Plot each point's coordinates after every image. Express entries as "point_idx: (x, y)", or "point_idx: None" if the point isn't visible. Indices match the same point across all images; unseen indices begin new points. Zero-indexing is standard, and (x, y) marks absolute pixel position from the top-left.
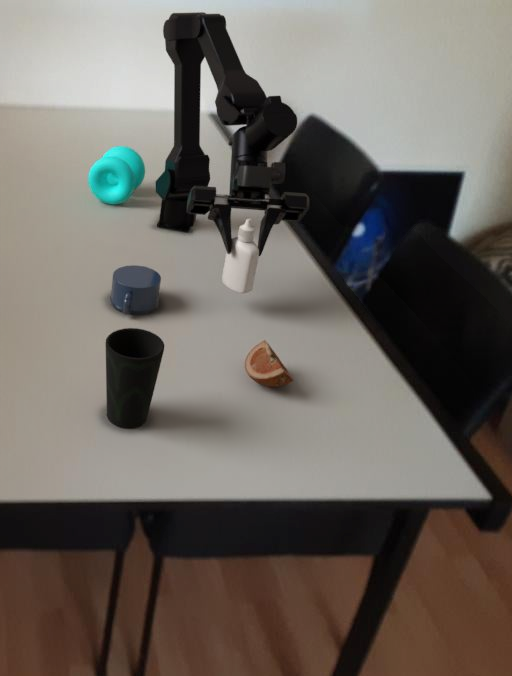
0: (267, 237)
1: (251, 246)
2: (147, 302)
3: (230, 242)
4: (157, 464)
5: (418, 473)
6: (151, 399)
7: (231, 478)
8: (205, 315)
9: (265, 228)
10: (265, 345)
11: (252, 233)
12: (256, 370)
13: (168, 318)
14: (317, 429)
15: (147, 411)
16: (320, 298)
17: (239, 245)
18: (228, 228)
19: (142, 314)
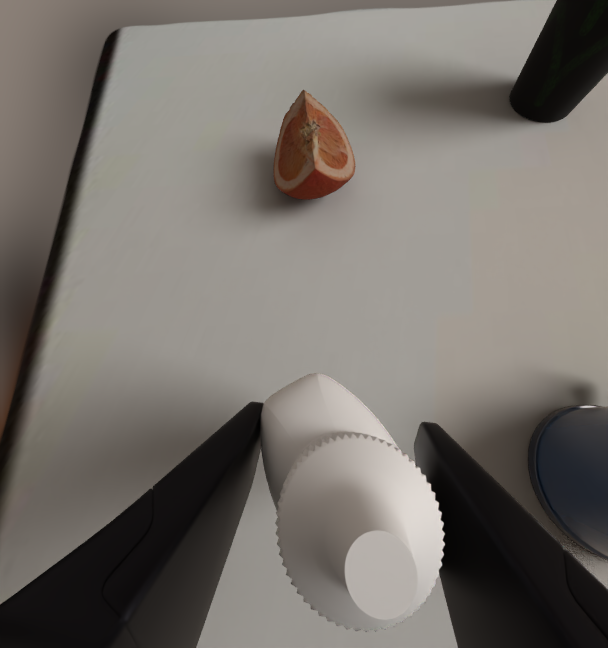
0: (178, 464)
1: (310, 412)
2: (586, 411)
3: (452, 459)
4: (486, 37)
5: (178, 45)
6: (534, 46)
7: (398, 27)
8: (399, 410)
9: (156, 537)
10: (317, 158)
11: (310, 447)
12: (340, 139)
13: (494, 391)
14: (268, 96)
15: (524, 65)
16: (58, 522)
17: (385, 434)
18: (546, 570)
19: (565, 407)
